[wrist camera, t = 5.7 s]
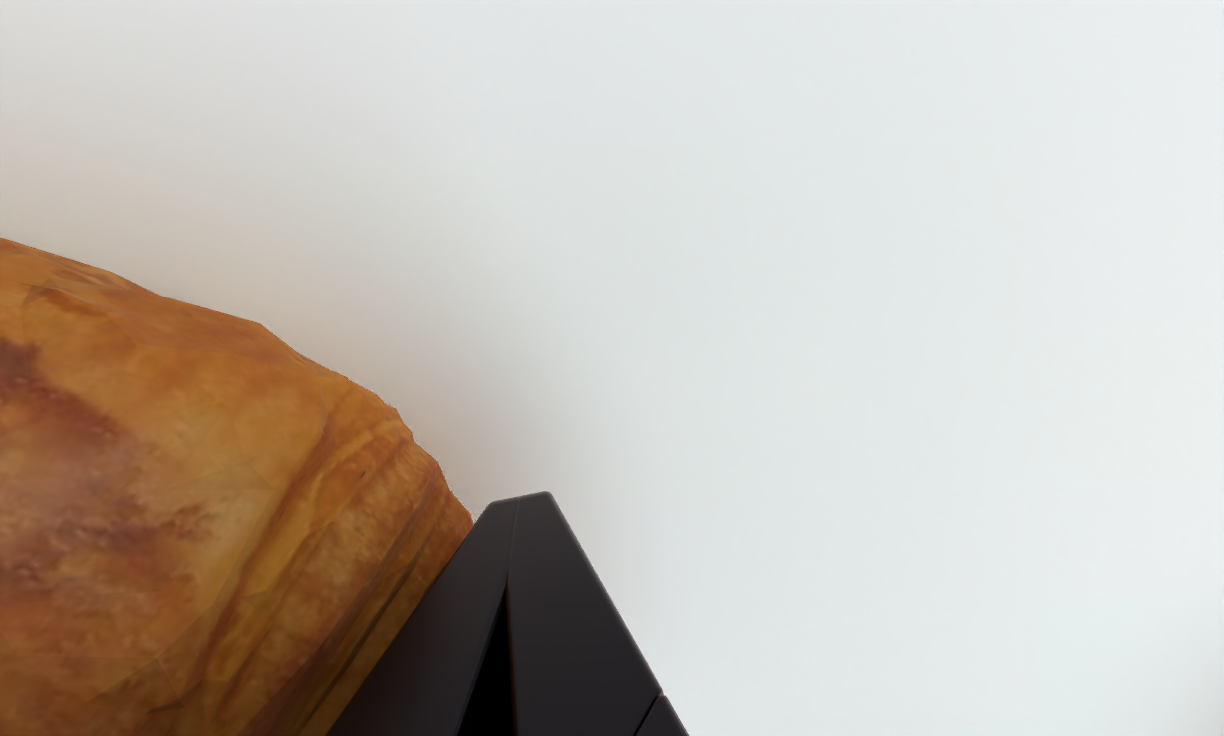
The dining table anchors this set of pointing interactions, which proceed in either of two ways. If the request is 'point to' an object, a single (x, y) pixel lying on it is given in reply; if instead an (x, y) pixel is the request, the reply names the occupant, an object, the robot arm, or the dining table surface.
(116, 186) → the dining table surface
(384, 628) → the croissant
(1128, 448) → the dining table surface
